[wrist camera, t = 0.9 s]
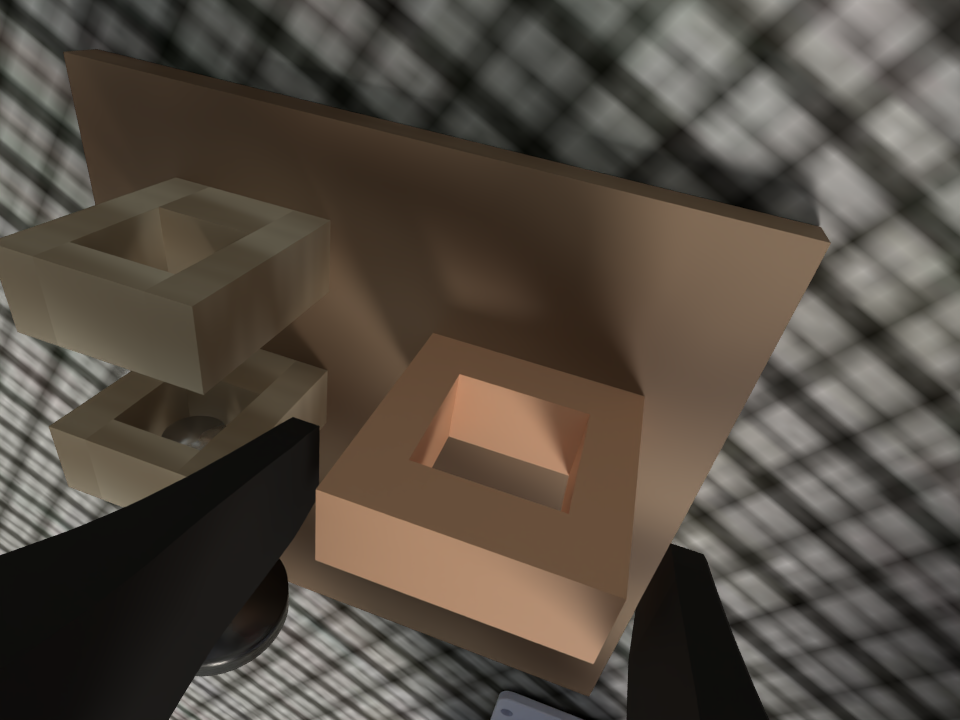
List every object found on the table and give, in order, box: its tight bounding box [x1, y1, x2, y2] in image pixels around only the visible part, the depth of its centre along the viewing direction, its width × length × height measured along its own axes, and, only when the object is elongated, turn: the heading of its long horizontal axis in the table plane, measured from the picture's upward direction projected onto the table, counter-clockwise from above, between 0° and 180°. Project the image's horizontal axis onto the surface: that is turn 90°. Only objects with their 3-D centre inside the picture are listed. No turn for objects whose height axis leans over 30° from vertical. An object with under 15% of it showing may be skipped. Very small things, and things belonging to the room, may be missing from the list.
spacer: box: [315, 333, 645, 664], centre depth 13 cm, size 2×6×6 cm, turn 80°
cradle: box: [0, 49, 831, 697], centre depth 16 cm, size 18×18×6 cm
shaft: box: [161, 416, 289, 676], centre depth 18 cm, size 8×4×4 cm, turn 171°
